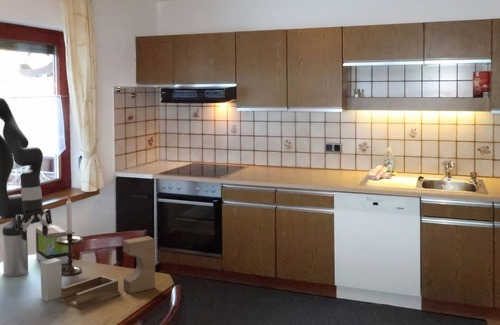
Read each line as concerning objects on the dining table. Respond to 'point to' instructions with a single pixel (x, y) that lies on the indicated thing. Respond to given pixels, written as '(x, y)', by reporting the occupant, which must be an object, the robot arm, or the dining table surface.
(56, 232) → the tea box
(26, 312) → the dining table surface
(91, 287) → the tray
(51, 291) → the white rectangular block
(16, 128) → the robot arm
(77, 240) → the candlestick
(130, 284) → the decorative block
